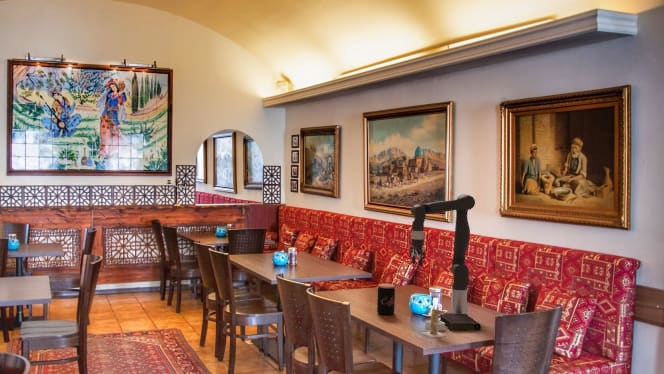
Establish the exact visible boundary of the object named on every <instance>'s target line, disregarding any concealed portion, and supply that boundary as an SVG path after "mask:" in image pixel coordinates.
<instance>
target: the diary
mask: <svg viewBox="0 0 664 374" xmlns="http://www.w3.org/2000/svg"><path fill="white" fill-rule="evenodd" d="M438 316H440V317H439V318H440V319H439V318H438V320H439V321H441V322H444V323H445V328H447V327H448V328H447V329H448V330H449V332H456V331H457V332H466V331H467V332H468V331H479V332H480V331H481V330H482V325H481V324H480V322H477V321H476V320H475V319H474V318H472V317H471V316H470V315H467V314H455V313H451V312H449V313H448V312H444V315H440V314H438ZM446 326H447V327H446Z"/></svg>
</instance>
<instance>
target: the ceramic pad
mask: <svg viewBox="0 0 664 374" xmlns="http://www.w3.org/2000/svg"><path fill="white" fill-rule="evenodd" d="M422 335H424V336H426V337H428V338H430V339H433V338H434V339H435V338H445V337H446V334H444V333H442V332H440V331H437V334H430V331H424V332H423V331H422Z"/></svg>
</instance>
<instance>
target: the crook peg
mask: <svg viewBox="0 0 664 374" xmlns="http://www.w3.org/2000/svg"><path fill="white" fill-rule="evenodd" d="M444 313H445V311H444V310H440V309H437V308H436V309H434V308H433V309H431V313H430V314H431V315H430V316H431V317H430V320H431V329H430V330H429V332H430V334H437V332H438V331H437V329H438V319H439V316H440V315H444ZM439 314H440V315H439Z"/></svg>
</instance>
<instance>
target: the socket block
mask: <svg viewBox="0 0 664 374" xmlns="http://www.w3.org/2000/svg"><path fill="white" fill-rule="evenodd" d="M439 320H440V319H439ZM439 320H438V329H437V332H440V331H445V330H446V327H445V323H444V322H441V321H439ZM424 325H425V326H424V327H425V328H426V329H427V330H429V331H430V329H431V319H430V320H425V324H424Z"/></svg>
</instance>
